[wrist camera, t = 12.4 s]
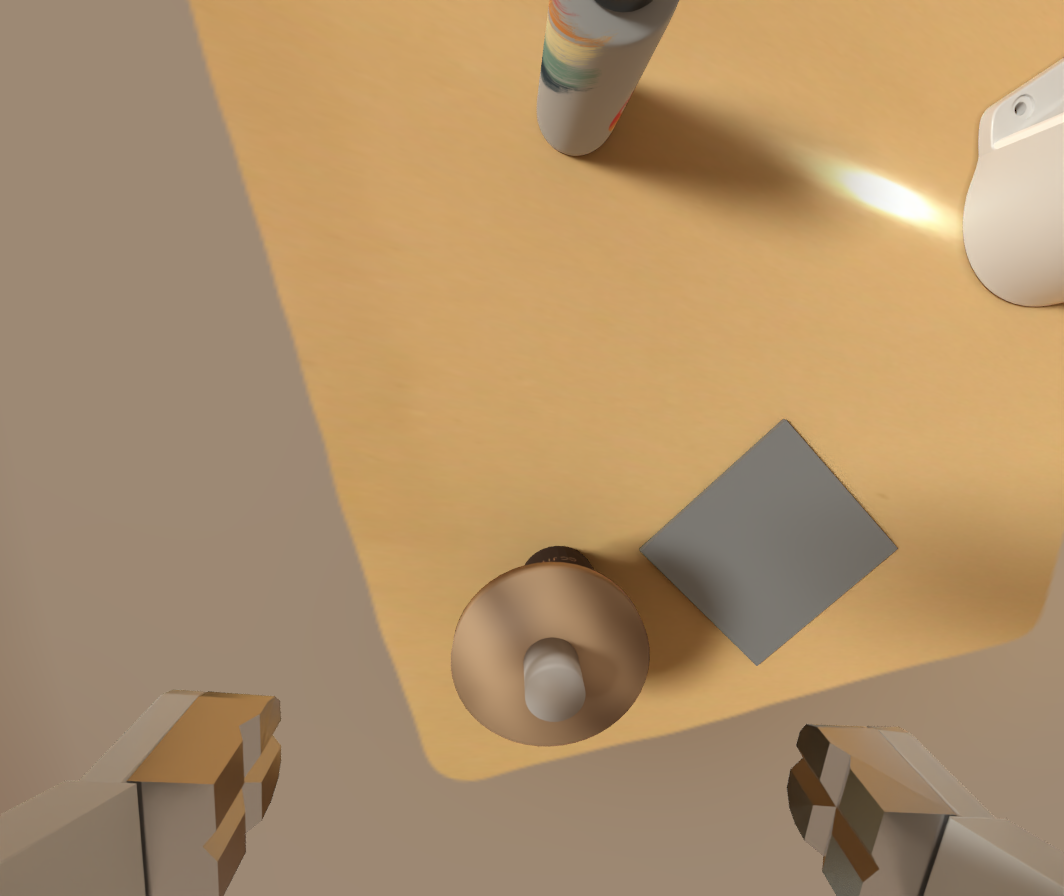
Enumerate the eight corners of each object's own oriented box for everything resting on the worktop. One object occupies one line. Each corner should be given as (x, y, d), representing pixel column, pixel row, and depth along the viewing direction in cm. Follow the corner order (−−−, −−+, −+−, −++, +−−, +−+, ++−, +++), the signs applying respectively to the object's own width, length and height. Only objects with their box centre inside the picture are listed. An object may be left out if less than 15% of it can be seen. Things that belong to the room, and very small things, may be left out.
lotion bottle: (623, 79, 36) (757, -211, 17) (605, 166, 38) (709, -11, 18) (545, 59, 36) (588, -265, 16) (528, 147, 37) (550, -56, 18)
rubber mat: (783, 419, 42) (786, 419, 42) (893, 546, 45) (898, 548, 45) (639, 548, 44) (640, 551, 44) (754, 662, 47) (756, 666, 47)
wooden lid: (551, 522, 33) (557, 551, 29) (683, 647, 35) (708, 691, 31) (412, 654, 34) (398, 700, 30) (548, 764, 37) (553, 822, 33)
